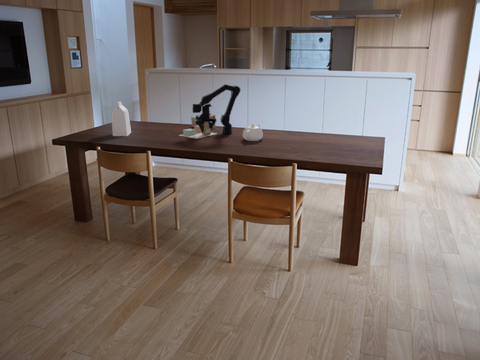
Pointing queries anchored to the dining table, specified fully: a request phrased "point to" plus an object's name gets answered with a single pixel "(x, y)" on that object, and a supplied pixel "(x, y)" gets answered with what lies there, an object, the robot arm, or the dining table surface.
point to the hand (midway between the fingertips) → (206, 132)
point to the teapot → (252, 133)
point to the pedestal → (189, 132)
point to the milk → (120, 121)
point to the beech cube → (207, 131)
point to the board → (197, 135)
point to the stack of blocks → (206, 125)
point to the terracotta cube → (197, 129)
